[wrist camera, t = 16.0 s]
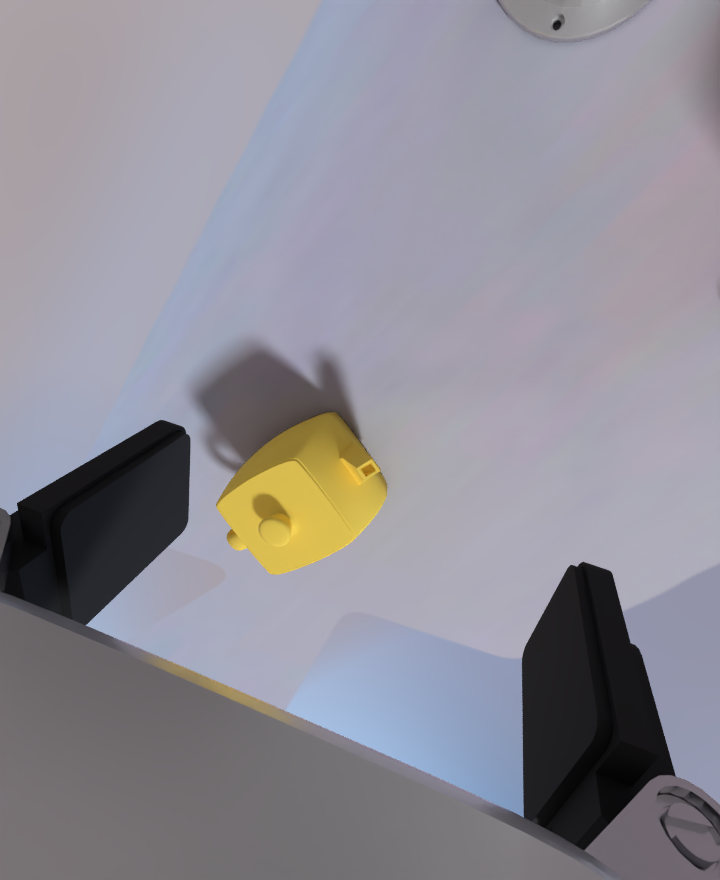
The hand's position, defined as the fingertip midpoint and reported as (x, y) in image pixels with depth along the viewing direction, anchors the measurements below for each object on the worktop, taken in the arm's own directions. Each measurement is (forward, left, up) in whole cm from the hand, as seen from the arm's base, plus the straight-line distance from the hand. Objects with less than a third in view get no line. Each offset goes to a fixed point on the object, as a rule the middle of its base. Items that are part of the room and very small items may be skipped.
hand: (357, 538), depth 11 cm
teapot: (+21, -10, -35) cm, 42 cm away
